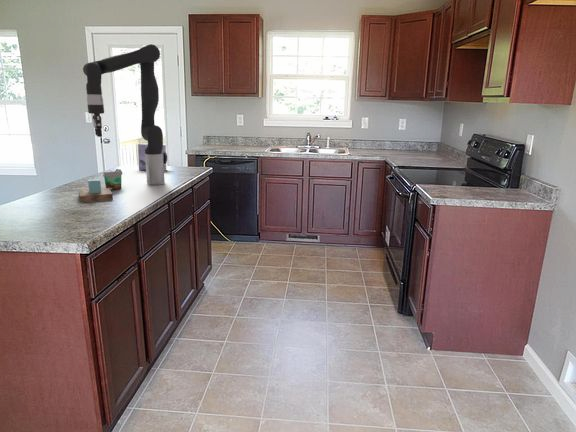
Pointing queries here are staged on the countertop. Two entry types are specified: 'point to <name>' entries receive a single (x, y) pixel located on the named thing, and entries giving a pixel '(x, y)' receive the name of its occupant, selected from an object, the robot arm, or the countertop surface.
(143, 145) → the cake pan box
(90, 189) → the teal block
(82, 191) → the walnut base
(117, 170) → the food container
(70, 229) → the countertop surface
